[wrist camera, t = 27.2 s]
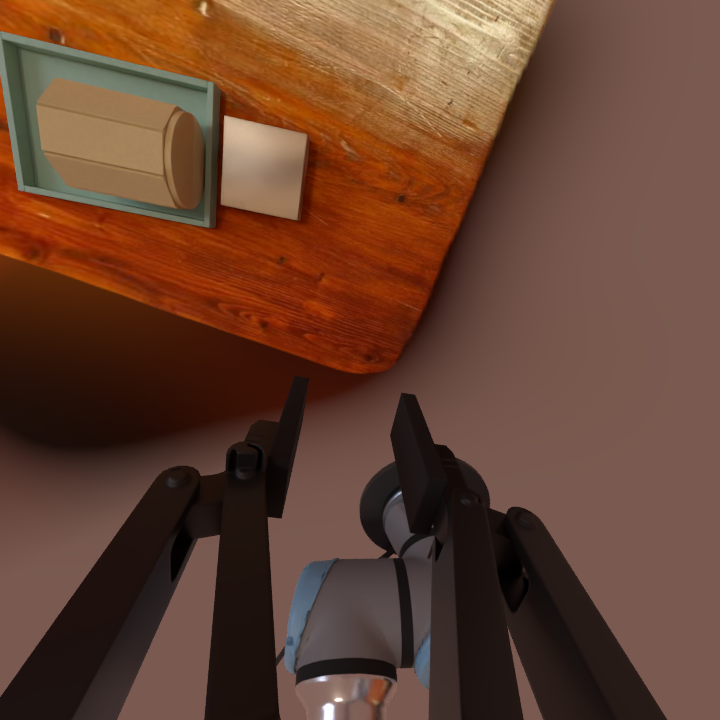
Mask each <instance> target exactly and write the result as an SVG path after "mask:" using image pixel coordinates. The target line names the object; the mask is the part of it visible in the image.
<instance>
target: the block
mask: <svg viewBox="0 0 720 720" xmlns="http://www.w3.org/2000/svg"><path fill="white" fill-rule="evenodd" d="M309 148H310V139H309V137H308V135H307V134H304V133H299V132H295V131H291V130H286V129H282V128H278V127H273V126H269V125H265V124H261V123H256V122H252V121H248V120H243V119H239V118H235V117H230V116H226V115H224V135H223V160H222V185H221V205H224V206H228V207H233V208H238V209H243V210H248V211H253V212H258V213H263V214H267V215H272V216H277V217H282V218H287V219H292V220H297V221H298V220H301V214H302V206H303V198H304V189H305V181H306V173H307V165H308V156H309Z"/></svg>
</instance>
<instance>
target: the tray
mask: <svg viewBox="0 0 720 720" xmlns="http://www.w3.org/2000/svg"><path fill="white" fill-rule="evenodd" d="M0 74H1V81H2V87H3V94H4V100H5V106H6V113H7V119H8V126H9V132H10V138H11V145H12V151H13V157H14V164H15V170H16V177H17V183H18V189H19V191H24V192H29V193H34V194H40V195H45V196H50V197H55V198H60V199H65V200H70V201H75V202H80V203H85V204H90V205H95V206H100V207H105V208H110V209H115V210H120V211H126V212H131V213H136V214H141V215H146V216H151V217H156V218H161V219H166V220H171V221H176V222H181V223H186V224H191V225H196V226H201V227H206V228H216V204H217V176H218V148H219V121H220V93H221V90H220V89H219V88H218V87H217V86H216V85H215V84H214V83H213V82H209V81H205V80H201V79H197V78H193V77H189V76H185V75H180V74H176V73H172V72H168V71H164V70H160V69H156V68H151V67H147V66H143V65H139V64H135V63H131V62H127V61H122V60H118V59H114V58H110V57H106V56H102V55H98V54H93V53H89V52H85V51H81V50H77V49H73V48H69V47H64V46H60V45H56V44H52V43H48V42H44V41H40V40H35V39H31V38H27V37H23V36H19V35H15V34H10V33H6V32H1V31H0ZM54 78H62V79H66V80H71V81H75V82H79V83H84V84H88V85H92V86H97V87H101V88H105V89H110V90H114V91H118V92H122V93H127V94H131V95H135V96H140V97H144V98H148V99H153V100H157V101H161V102H165V103H170V104H174V105H177V106H179V107H180V108H182V109H183V110H185V111H187V112H190V113H192V114H193V115H194V116H195V118H196V119H197V121H198V122H199V125H200V127H201V130H202V133H203V136H204V141H205V146H206V166H205V189H204V193H203V196H202V199H201V201H200V203H199V204H198V206H197V207H195V208H194V209H191V210H189V209H175V208H170V207H165V206H160V205H155V204H151V203H146V202H141V201H136V200H131V199H126V198H121V197H116V196H111V195H106V194H101V193H96V192H91V191H86V190H81V189H76V188H71V187H69V186H68V185H66V184H65V182H64V181H63V180H62V178H61V177H60V176H59V174H58V173H57V171H56V170H55V169H54V167H53V166H52V165H51V163H50V162H49V161H48V159H47V158H46V156H45V155H44V152H45V151H44V150H42V147H41V139H40V132H39V124H38V116H37V108H36V105H39V104H38V103H37V100H38V99H39V97H40V96H41V95H42V94H43V92H44V91H45V90H46V88H47V87H48V86H49V85H50V83H51V82H52V81H53V79H54Z"/></svg>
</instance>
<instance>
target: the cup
mask: <svg viewBox="0 0 720 720" xmlns="http://www.w3.org/2000/svg"><path fill="white" fill-rule="evenodd" d="M37 103H38V104H39V105H36V108H37V116H38V124H39V132H40V139H41V147H42V150H44V151H45V152H44V155H45V156H46V158H47V159H48V161H49V162H50V163H51V165H52V166H53V167H54V169H55V170H56V171H57V173H58V174H59V176H60V177H61V178H62V180H63V181H64V182H65V184H66V185H68V186H69V187H71V188H76V189H81V190H86V191H91V192H96V193H101V194H106V195H111V196H116V197H121V198H126V199H131V200H136V201H141V202H146V203H151V204H155V205H160V206H165V207H170V208H175V209H189V210H191V209H194V208H195V207H197V206H198V204H199V203H200V201H201V199H202V196H203V193H204V189H205V166H206V146H205V141H204V136H203V133H202V130H201V127H200V125H199V122H198V121H197V119H196V118H195V116H194V115H193V114H192V113H190V112H187V111H185V110H183V109H182V108H180V107H179V106H177V105H174V104H170V103H165V102H161V101H157V100H153V99H148V98H144V97H140V96H135V95H131V94H127V93H122V92H118V91H114V90H110V89H105V88H101V87H97V86H92V85H88V84H84V83H79V82H75V81H71V80H66V79H62V78H54V79H53V81H52V82H51V83H50V85H49V86H48V87H47V88H46V90H45V91H44V92H43V94H42V95H41V96H40V97H39V99H38V100H37Z"/></svg>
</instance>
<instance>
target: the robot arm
mask: <svg viewBox="0 0 720 720" xmlns="http://www.w3.org/2000/svg"><path fill="white" fill-rule="evenodd" d="M308 382H309V378H305V377H299V376H294V379H293V382H292V385H291V388H290V391H289V394H288V397H287V400H286V403H285V406H284V409H283V412H282V416H281V418H280V421H279V422H271V421H265V420H258V421H257V422H255V423H254V424H253V425H252V426H251V428H250V430H249V432H248V434H247V436H246V438H245V441H243V442H238V443H236V444H233V445H232V446H231V447H230V448H229V449H228V451H227V454H226V470H225V471H224V472H221V473H219V474H214V475H207V476H200V473H199V471H198V470H196V469H195V468H193V467H189V466H176V467H172V468H169V469H167V470H165V471H163V472H162V473H161V474H160V475H159V476H158V477H157V478H156V479H155V481H154V482H153V483H152V485H151V487H150V488H149V489H148V491H147V492H146V493H145V495H144V496H143V498H142V499H141V500H140V502H139V503H138V505H137V506H136V507H135V509H134V510H133V512H132V513H131V514H130V516H129V517H128V519H127V520H126V521H125V523H124V524H123V526H122V527H121V528H120V530H119V531H118V533H117V534H116V536H115V537H114V538H113V540H112V541H111V542H110V544H109V545H108V547H107V548H106V549H105V551H104V552H103V554H102V555H101V557H100V558H99V559H98V561H97V562H96V564H95V565H94V567H93V568H92V569H91V571H90V572H89V573H88V575H87V576H86V578H85V579H84V581H83V582H82V583H81V585H80V586H79V588H78V589H77V590H76V592H75V593H74V595H73V596H72V597H71V599H70V600H69V601H68V603H67V604H66V606H65V607H64V608H63V610H62V611H61V613H60V614H59V615H58V617H57V618H56V620H55V621H54V623H53V624H52V625H51V627H50V628H49V630H48V631H47V632H46V634H45V635H44V637H43V638H42V639H41V641H40V642H39V644H38V645H37V646H36V648H35V649H34V651H33V652H32V654H31V655H30V656H29V658H28V659H27V661H26V662H25V663H24V665H23V666H22V667H21V669H20V670H19V672H18V673H17V675H16V676H15V677H14V679H13V680H12V681H11V683H10V684H9V686H8V687H7V689H6V690H5V691H4V693H3V694H2V696H1V697H0V720H117V718H118V716H119V714H120V712H121V709H122V707H123V705H124V703H125V700H126V698H127V696H128V694H129V691H130V689H131V687H132V685H133V683H134V680H135V678H136V676H137V674H138V671H139V669H140V667H141V665H142V662H143V660H144V658H145V656H146V654H147V651H148V649H149V647H150V645H151V642H152V640H153V638H154V636H155V633H156V631H157V629H158V627H159V625H160V622H161V620H162V618H163V616H164V613H165V611H166V609H167V607H168V604H169V602H170V600H171V598H172V596H173V593H174V591H175V589H176V587H177V584H178V582H179V580H180V578H181V575H182V573H183V571H184V569H185V567H186V564H187V562H188V560H189V558H190V555H191V553H192V551H193V548H194V546H195V544H196V542H197V540H198V538H204V537H209V536H215V535H220V543H219V554H218V565H217V577H216V590H215V601H214V613H213V624H212V636H211V649H210V660H209V671H208V684H207V695H206V707H205V719H204V720H281V719H280V715H279V705H278V689H277V673H276V666H277V665H278V663H279V662H280V660H281V659H282V657H283V656H284V657H285V658H284V660H285V667H286V669H287V671H288V672H291V674H293V675H294V674H296V686H295V693H296V695H297V696H298V698H299V699H300V701H301V702H302V704H303V705H304V707H305V710H306V712H307V720H386V708H387V706H388V704H389V702H390V701H391V699H392V697H393V695H394V694H395V692H396V690H397V688H398V687H397V674H396V668H414V670H415V674H416V676H417V677H418V679H419V682H420V683H421V684H422V685H423V686H424V687H425V688H427V689H429V720H523V714H522V708H521V703H520V697H519V692H518V685H517V680H516V674H515V668H514V663H513V657H512V651H511V646H510V640H509V634H508V629H509V631H510V634H511V637H512V639H513V642H514V644H515V647H516V649H517V652H518V655H519V657H520V660H521V663H522V665H523V668H524V670H525V673H526V676H527V678H528V681H529V683H530V686H531V689H532V691H533V693H534V696H535V699H536V701H537V704H538V707H539V709H540V712H541V714H542V717H543V720H667V719H666V717H665V715H664V714H663V712H662V711H661V709H660V708H659V706H658V705H657V703H656V701H655V700H654V698H653V696H652V695H651V693H650V692H649V690H648V689H647V687H646V685H645V684H644V682H643V681H642V679H641V678H640V676H639V675H638V673H637V671H636V670H635V668H634V666H633V665H632V663H631V662H630V660H629V658H628V657H627V655H626V654H625V652H624V651H623V649H622V648H621V646H620V644H619V643H618V641H617V639H616V638H615V636H614V635H613V633H612V632H611V630H610V628H609V627H608V625H607V624H606V622H605V620H604V619H603V617H602V616H601V614H600V613H599V611H598V610H597V608H596V606H595V605H594V603H593V602H592V600H591V598H590V597H589V595H588V594H587V592H586V590H585V589H584V587H583V586H582V584H581V583H580V581H579V579H578V578H577V576H576V575H575V573H574V572H573V570H572V568H571V567H570V565H569V564H568V562H567V560H566V559H565V557H564V556H563V554H562V552H561V551H560V549H559V548H558V546H557V545H556V543H555V541H554V540H553V538H552V537H551V535H550V533H549V532H548V530H547V529H546V527H545V526H544V524H543V523H542V522H541V520H540V519H539V518H538V517H537V516H536V515H534V514H533V513H532V512H530V511H528V510H526V509H524V508H521V507H511V508H510V509H508V511H507V513H506V514H504V513H501V512H498V511H496V510H493V509H491V508H488V507H486V504H485V502H484V500H483V499H482V498H481V496H480V495H479V494H477V493H476V492H474V491H473V490H470V489H469V487H468V484H467V482H466V480H465V478H464V476H463V473H462V471H461V469H460V467H459V465H458V463H457V460H456V458H455V456H454V454H453V452H452V451H451V450H450V449H449V448H448V447H447V446H445V445H438V444H434V442H433V439H432V437H431V434H430V432H429V429H428V427H427V424H426V421H425V419H424V416H423V414H422V411H421V409H420V406H419V404H418V401H417V398H416V396H415V395H413V394H406V393H401V397H400V401H399V404H398V408H397V412H396V415H395V419H394V423H393V426H392V430H391V434H390V437H391V441H392V447H393V452H394V456H395V461H396V466H397V471H398V476H399V481H400V486H398V487H397V488H395V489H394V490H393V491H392V492H391V493H390V494H389V496H388V497H387V498H386V500H385V502H384V504H383V508H382V521H383V528H384V531H385V533H386V535H387V537H388V538H389V540H390V542H391V544H392V546H393V547H392V548H390V549H389V550H388V551H387V552H386V553H384V554H383V555H382V556H381V557H380V558H378V559H339V558H335V559H333V560H326V561H315V562H311V563H309V564H308V565H307V566H306V567H305V568H304V569H303V571H302V573H301V575H300V577H299V580H298V582H297V585H296V589H295V593H294V596H293V600H292V606H291V610H290V615H289V621H288V628H287V639H286V645H285V647H284V648H283V649H282V651H281V652H280V654H279V655H278V656H277V658H276V654H275V638H274V620H273V605H272V587H271V569H270V552H269V535H268V518H267V517H274V518H282V514H283V509H284V504H285V500H286V495H287V490H288V486H289V481H290V477H291V472H292V467H293V463H294V458H295V454H296V449H297V444H298V440H299V435H300V431H301V426H302V421H303V414H304V408H305V401H306V394H307V388H308ZM395 552H396V553H397V555H398V557H399V558H389V557H390V556H391V555H393V554H394V553H395ZM507 626H508V629H507Z"/></svg>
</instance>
